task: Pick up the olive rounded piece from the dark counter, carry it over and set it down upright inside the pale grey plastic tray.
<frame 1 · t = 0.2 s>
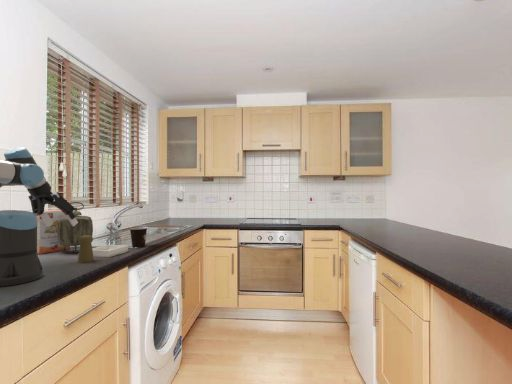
hand: (62, 224, 125), 15 cm above the worktop, tool tilted 30°, fingers open, 13 cm apart
cracker box: (53, 251, 141), on the worktop
tabletop clock: (75, 252, 139), on the worktop
coffee mug: (136, 247, 150), on the worktop
tray: (108, 253, 134), on the worktop
olive rounded piece: (85, 261, 120), on the worktop
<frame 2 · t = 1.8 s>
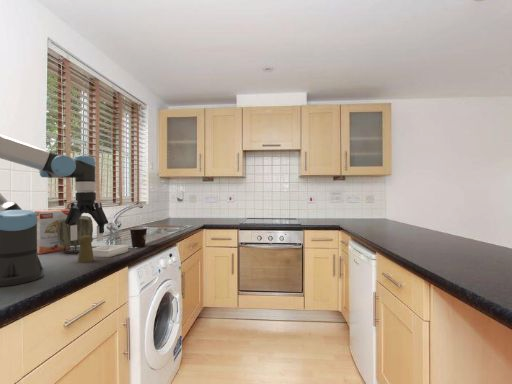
hand: (86, 240, 121), 9 cm above the worktop, tool pointing down, fingers open, 13 cm apart
nothing on the worktop moved.
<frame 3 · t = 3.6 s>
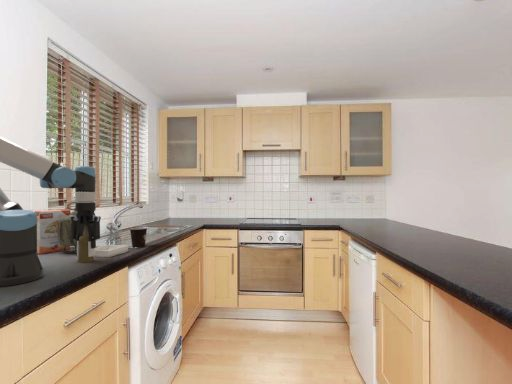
hand: (85, 255, 120), 2 cm above the worktop, tool pointing down, fingers closed on olive rounded piece, 5 cm apart
olive rounded piece: (85, 261, 120), on the worktop, touching gripper
everything else where it was.
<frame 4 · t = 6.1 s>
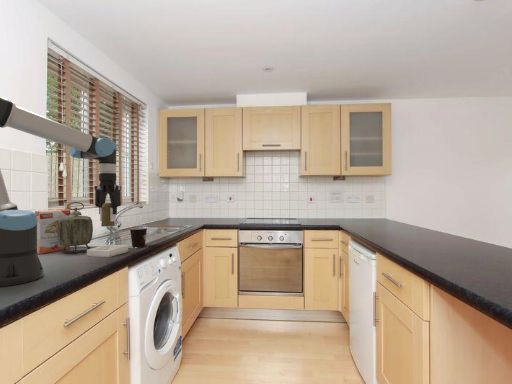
hand: (108, 221, 134), 16 cm above the worktop, tool pointing down, fingers closed on olive rounded piece, 5 cm apart
olive rounded piece: (108, 226, 134), point 13 cm above the worktop, touching gripper
everything else where it was.
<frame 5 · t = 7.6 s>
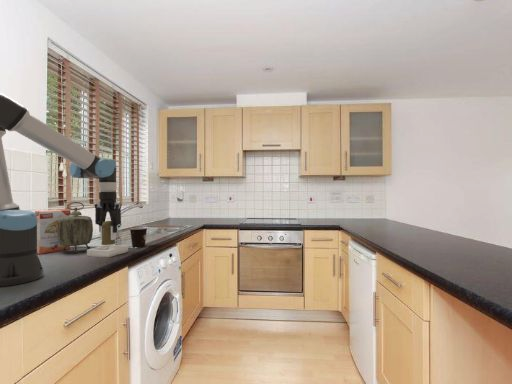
hand: (108, 239, 134), 7 cm above the worktop, tool pointing down, fingers closed on olive rounded piece, 5 cm apart
olive rounded piece: (108, 244, 134), point 5 cm above the worktop, touching gripper
everything else where it was.
when the fingers open (5 cm above the worktop, at t = 8.8 s): olive rounded piece drops 2 cm, resting on tray.
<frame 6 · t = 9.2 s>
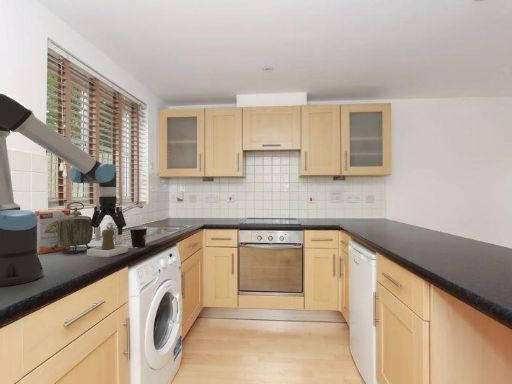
hand: (108, 241, 134), 6 cm above the worktop, tool pointing down, fingers open, 11 cm apart
olive rounded piece: (108, 252, 134), point 1 cm above the worktop, touching tray
everything else where it was.
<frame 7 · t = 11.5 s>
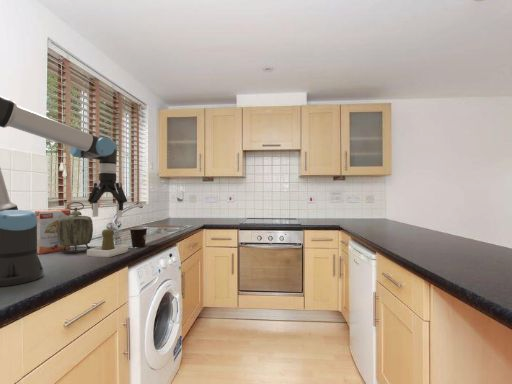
hand: (107, 217, 134), 18 cm above the worktop, tool pointing down, fingers open, 13 cm apart
nothing on the worktop moved.
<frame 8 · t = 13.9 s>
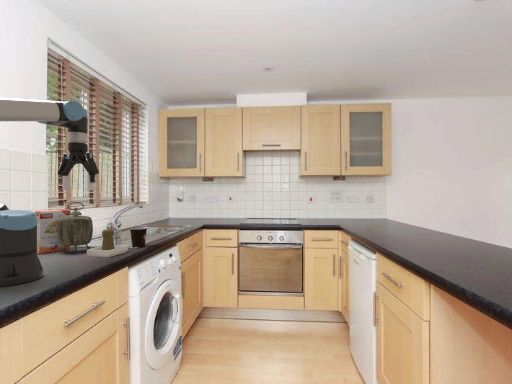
hand: (78, 190, 125), 31 cm above the worktop, tool pointing down, fingers open, 13 cm apart
nothing on the worktop moved.
at the end: olive rounded piece inside the target area on the tray (0.1 cm from its centre), point 0.6 cm above the tray's base; olive rounded piece tilted 0°; the gripper is holding nothing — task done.
